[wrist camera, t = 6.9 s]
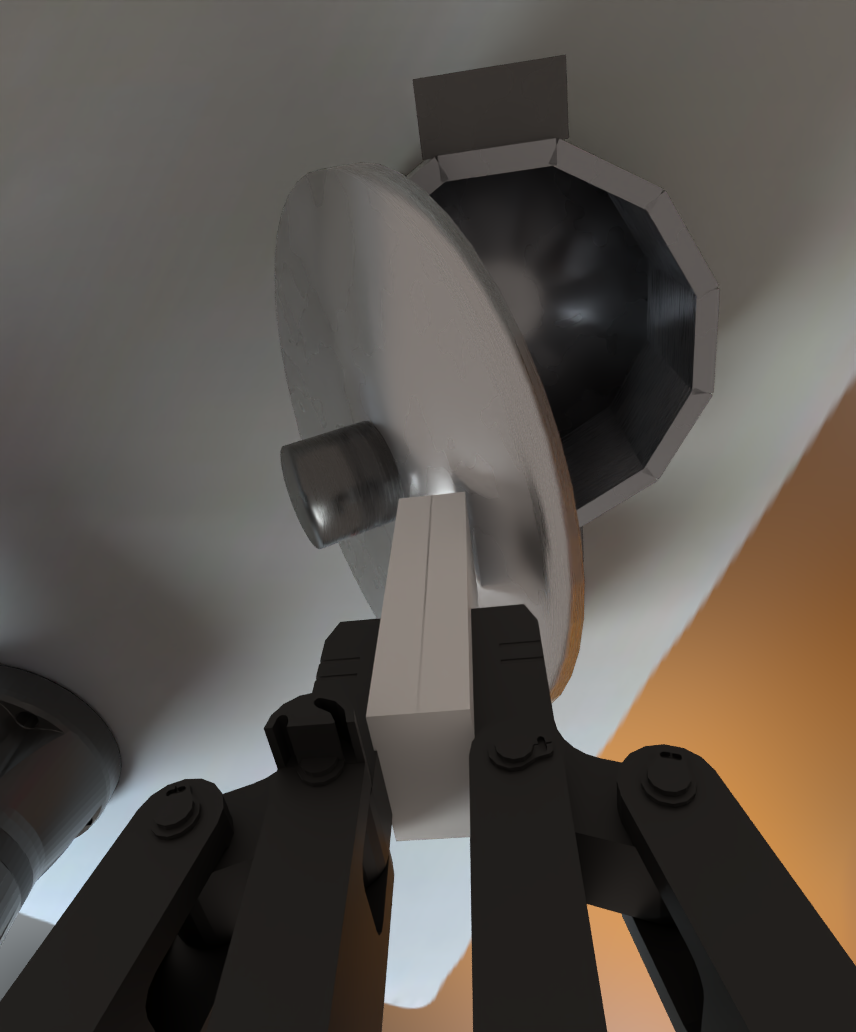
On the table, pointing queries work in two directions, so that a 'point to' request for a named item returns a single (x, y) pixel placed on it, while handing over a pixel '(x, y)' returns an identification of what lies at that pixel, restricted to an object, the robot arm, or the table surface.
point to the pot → (576, 271)
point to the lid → (419, 398)
